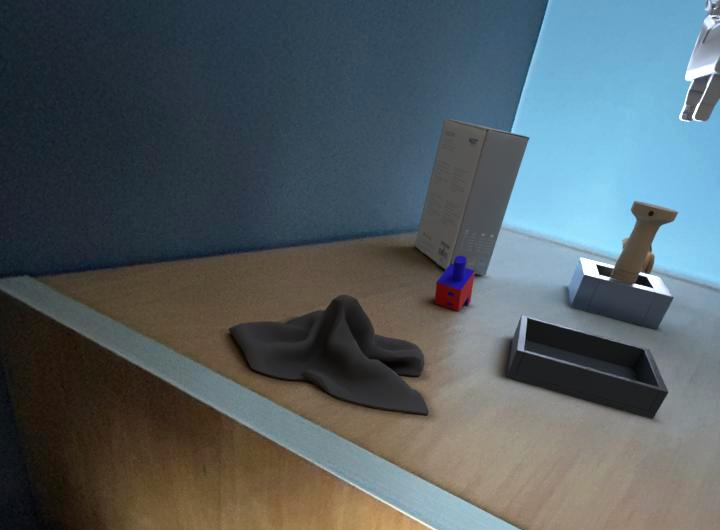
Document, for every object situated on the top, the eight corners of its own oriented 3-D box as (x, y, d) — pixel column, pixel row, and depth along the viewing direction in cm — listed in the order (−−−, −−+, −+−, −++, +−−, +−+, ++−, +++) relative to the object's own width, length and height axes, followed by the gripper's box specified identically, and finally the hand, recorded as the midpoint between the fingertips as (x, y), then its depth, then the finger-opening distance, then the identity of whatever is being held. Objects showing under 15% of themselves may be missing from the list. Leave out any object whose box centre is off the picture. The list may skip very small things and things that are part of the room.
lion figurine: (604, 273, 115) (626, 225, 109) (630, 279, 115) (652, 231, 109) (627, 294, 103) (652, 242, 98) (656, 300, 103) (682, 248, 98)
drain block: (645, 307, 98) (660, 277, 95) (657, 329, 87) (674, 297, 84) (568, 287, 100) (580, 257, 97) (570, 307, 89) (584, 274, 86)
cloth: (195, 344, 54) (196, 278, 50) (306, 308, 67) (313, 254, 64) (397, 438, 46) (416, 368, 43) (477, 377, 60) (497, 319, 56)
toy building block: (433, 312, 80) (437, 263, 73) (447, 294, 81) (452, 244, 74) (456, 321, 79) (463, 272, 72) (470, 302, 80) (477, 252, 73)
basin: (637, 373, 70) (649, 349, 68) (653, 419, 59) (668, 392, 57) (512, 338, 72) (521, 314, 70) (506, 377, 61) (516, 350, 59)
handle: (593, 298, 96) (636, 200, 87) (631, 310, 94) (680, 211, 85) (587, 303, 93) (631, 201, 84) (626, 316, 91) (676, 213, 82)
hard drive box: (487, 277, 95) (531, 137, 83) (446, 272, 93) (486, 128, 81) (449, 250, 107) (484, 124, 95) (412, 246, 104) (443, 115, 92)
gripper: (810, -27, 61) (735, 126, 69) (755, 3, 77) (699, 124, 85) (748, -37, 62) (682, 115, 70) (707, -5, 78) (657, 116, 86)
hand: (691, 120), depth 78 cm, fingers open, 8 cm apart
